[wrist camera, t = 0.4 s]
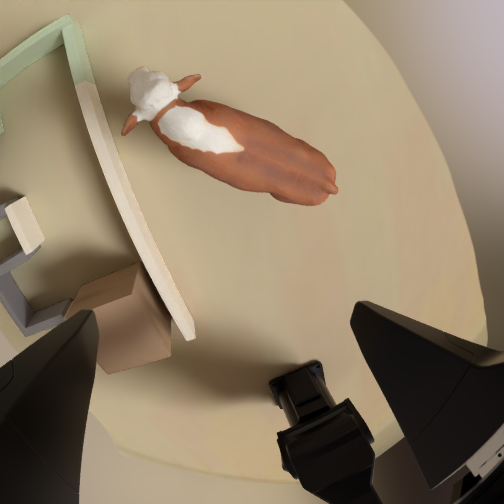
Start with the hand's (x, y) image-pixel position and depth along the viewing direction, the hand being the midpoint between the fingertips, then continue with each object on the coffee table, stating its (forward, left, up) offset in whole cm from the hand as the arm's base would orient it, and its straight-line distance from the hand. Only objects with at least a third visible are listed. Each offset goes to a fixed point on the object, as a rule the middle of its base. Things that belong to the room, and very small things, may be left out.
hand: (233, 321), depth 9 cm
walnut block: (-5, +9, -14) cm, 17 cm away
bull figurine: (+4, -3, -14) cm, 15 cm away
